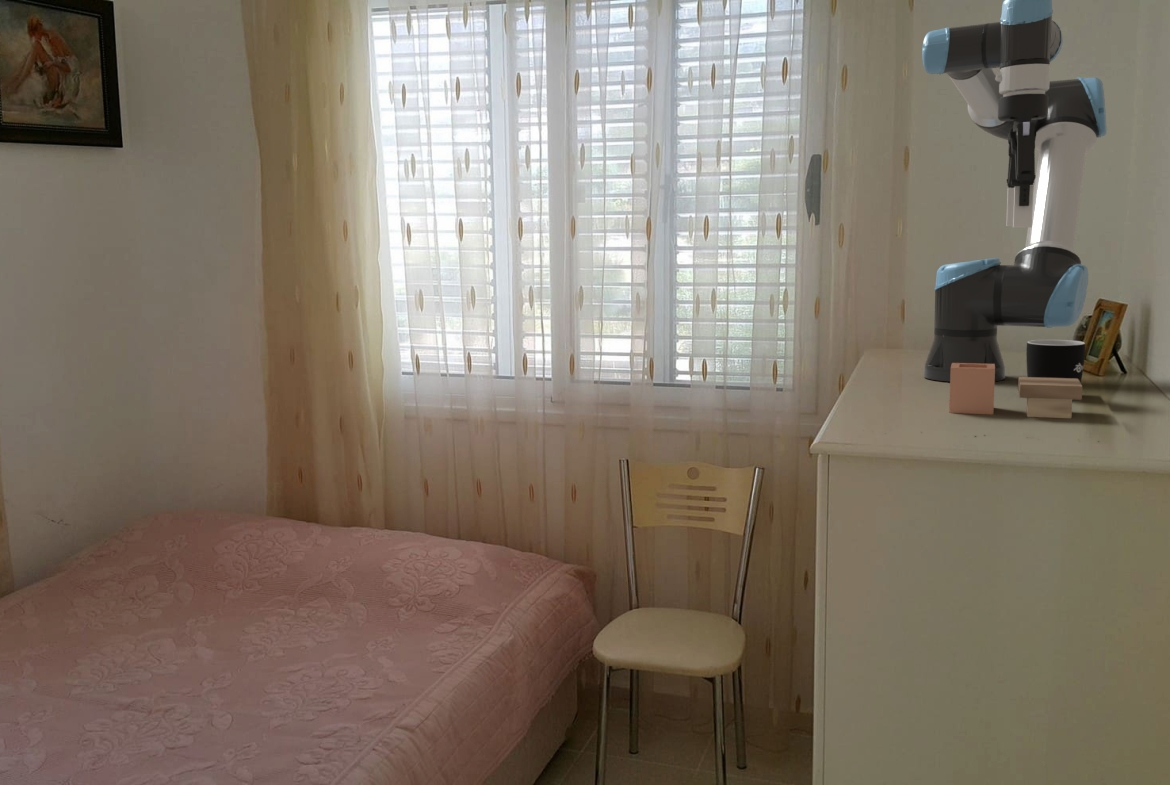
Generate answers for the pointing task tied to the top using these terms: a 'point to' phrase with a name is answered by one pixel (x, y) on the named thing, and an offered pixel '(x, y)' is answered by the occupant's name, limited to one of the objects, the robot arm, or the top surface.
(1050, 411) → the block
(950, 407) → the tan hollow square block
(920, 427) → the top surface
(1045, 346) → the mug
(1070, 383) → the lid
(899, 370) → the top surface
